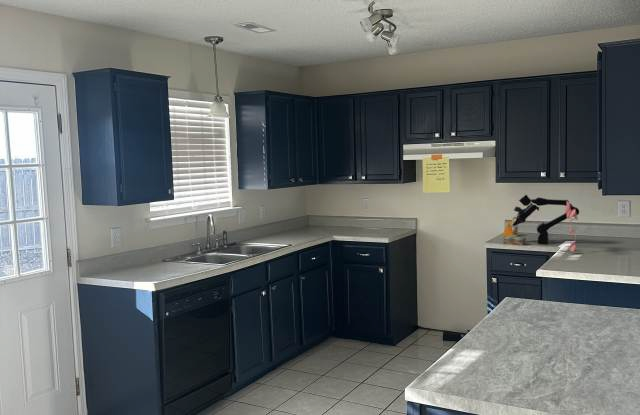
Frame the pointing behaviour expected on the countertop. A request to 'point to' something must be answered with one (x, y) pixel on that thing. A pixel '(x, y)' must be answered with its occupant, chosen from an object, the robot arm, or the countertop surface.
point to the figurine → (570, 214)
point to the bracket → (509, 230)
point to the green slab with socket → (514, 240)
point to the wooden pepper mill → (514, 228)
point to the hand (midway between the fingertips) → (512, 225)
